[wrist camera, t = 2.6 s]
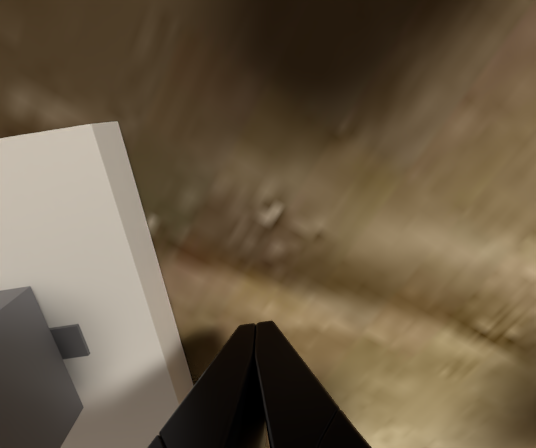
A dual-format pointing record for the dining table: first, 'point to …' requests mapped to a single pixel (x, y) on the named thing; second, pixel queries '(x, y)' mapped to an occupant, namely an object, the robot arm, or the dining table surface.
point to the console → (93, 279)
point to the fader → (32, 377)
